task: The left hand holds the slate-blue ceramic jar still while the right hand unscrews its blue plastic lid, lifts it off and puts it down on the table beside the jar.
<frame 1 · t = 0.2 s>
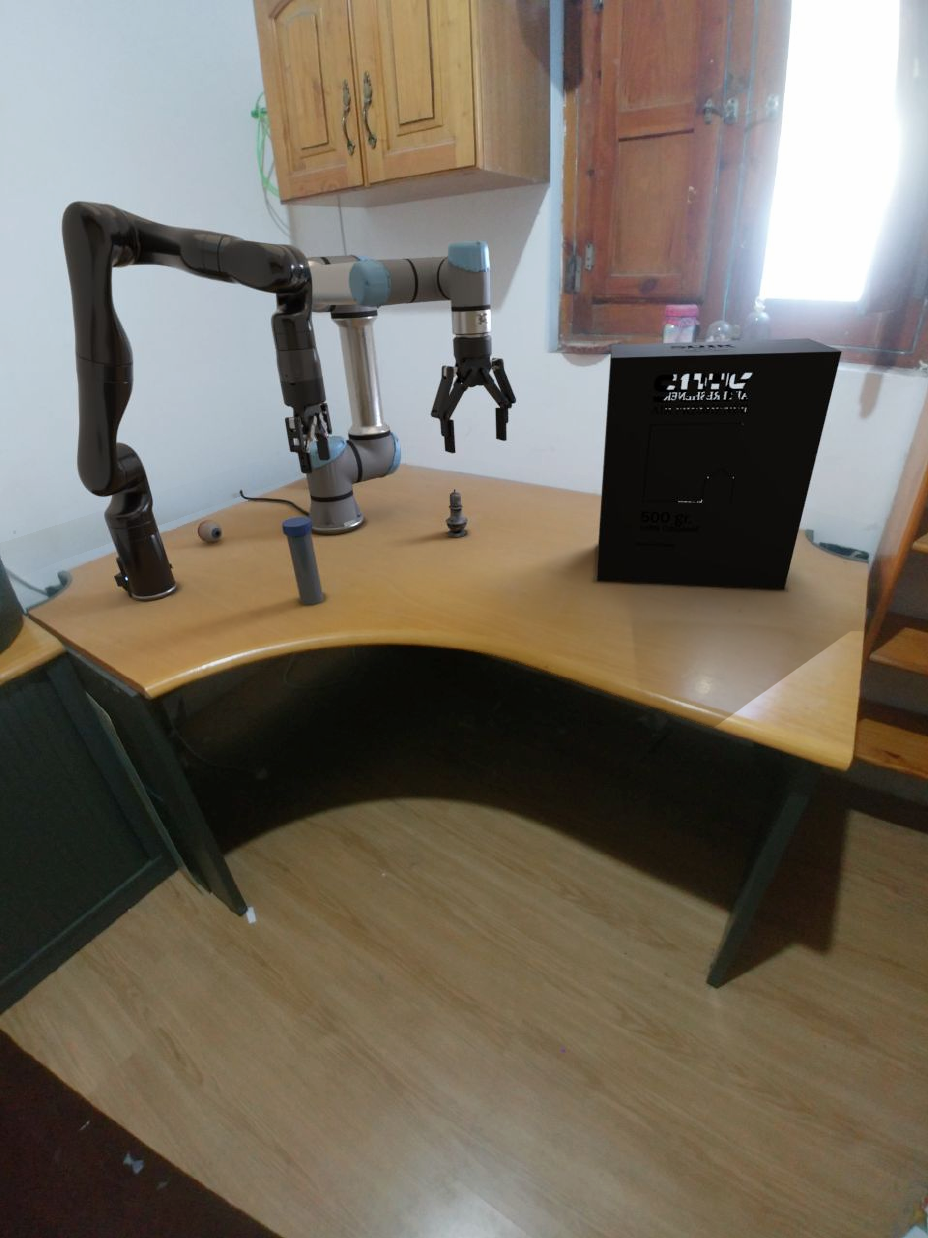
left hand: (316, 466, 115), 29 cm above the table, tool pointing down, fingers open, 8 cm apart
right hand: (476, 445, 127), 28 cm above the table, tool pointing down, fingers open, 13 cm apart
cardboard box: (682, 565, 136), on the table
eyeball: (213, 542, 163), on the table
salt shaker: (457, 533, 159), on the table
lid: (296, 523, 122), point 18 cm above the table, screwed on, not yet turned
jar: (312, 599, 131), on the table
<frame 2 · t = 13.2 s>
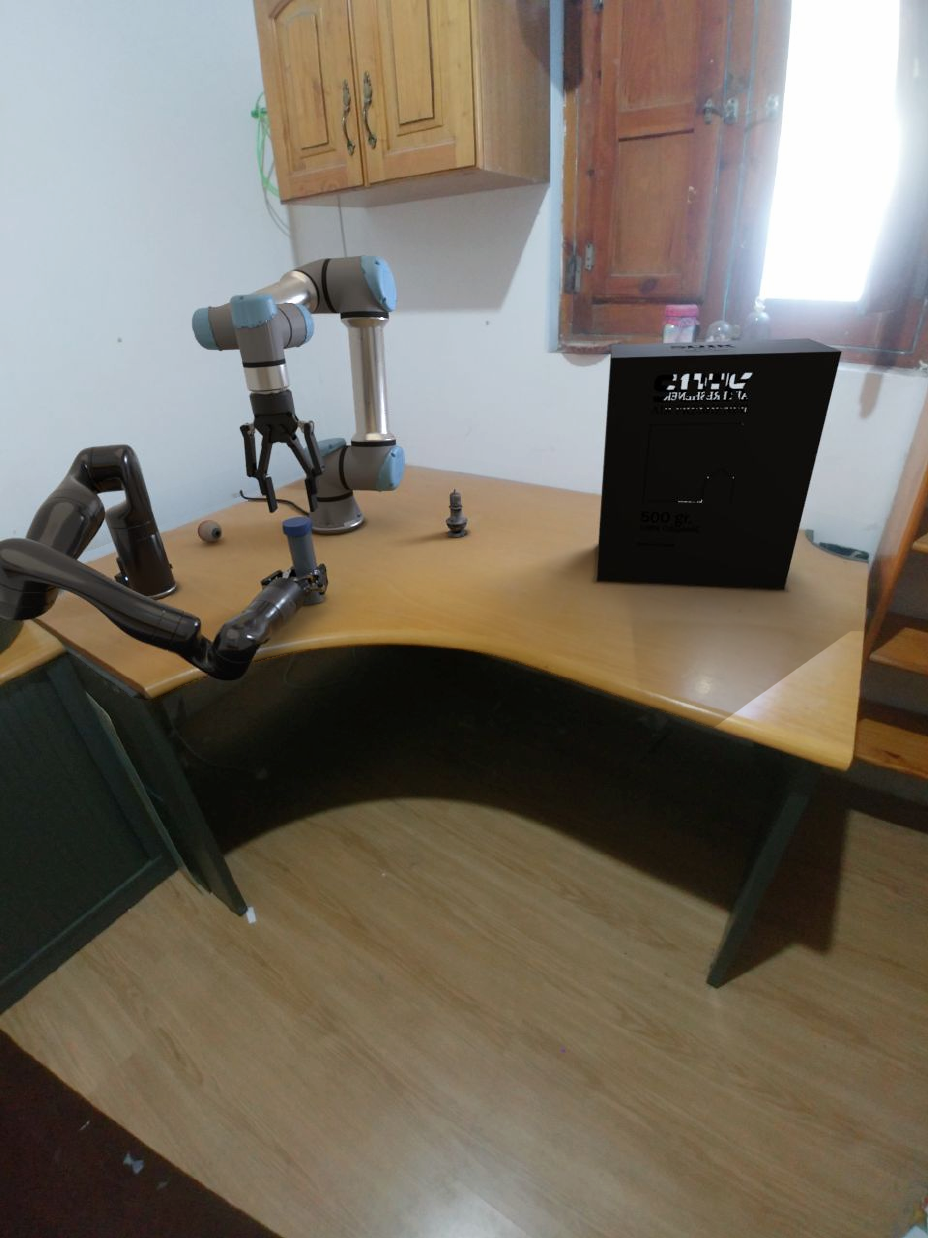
left hand: (311, 567, 130), 7 cm above the table, tool horizontal, fingers closed on jar, 5 cm apart
right hand: (293, 509, 121), 20 cm above the table, tool pointing down, fingers open, 8 cm apart
jar: (312, 599, 131), on the table, touching left hand
everything else where it was.
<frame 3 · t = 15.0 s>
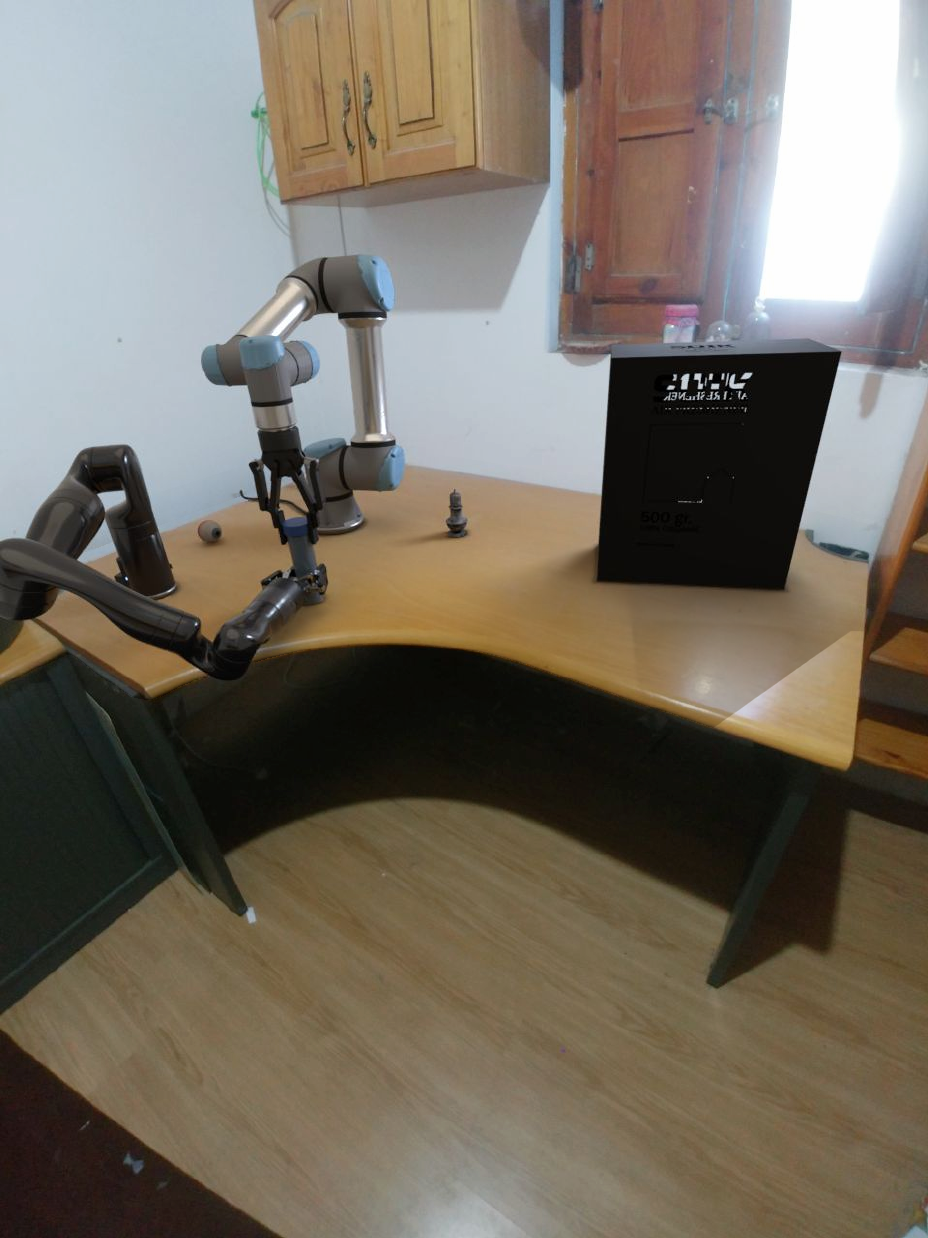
left hand: (311, 567, 130), 7 cm above the table, tool horizontal, fingers closed on jar, 5 cm apart
right hand: (300, 541, 124), 13 cm above the table, tool pointing down, fingers closed on lid, 6 cm apart
lid: (296, 523, 122), point 18 cm above the table, screwed on, not yet turned, touching right hand
jar: (312, 599, 131), on the table, touching left hand
everything else where it was.
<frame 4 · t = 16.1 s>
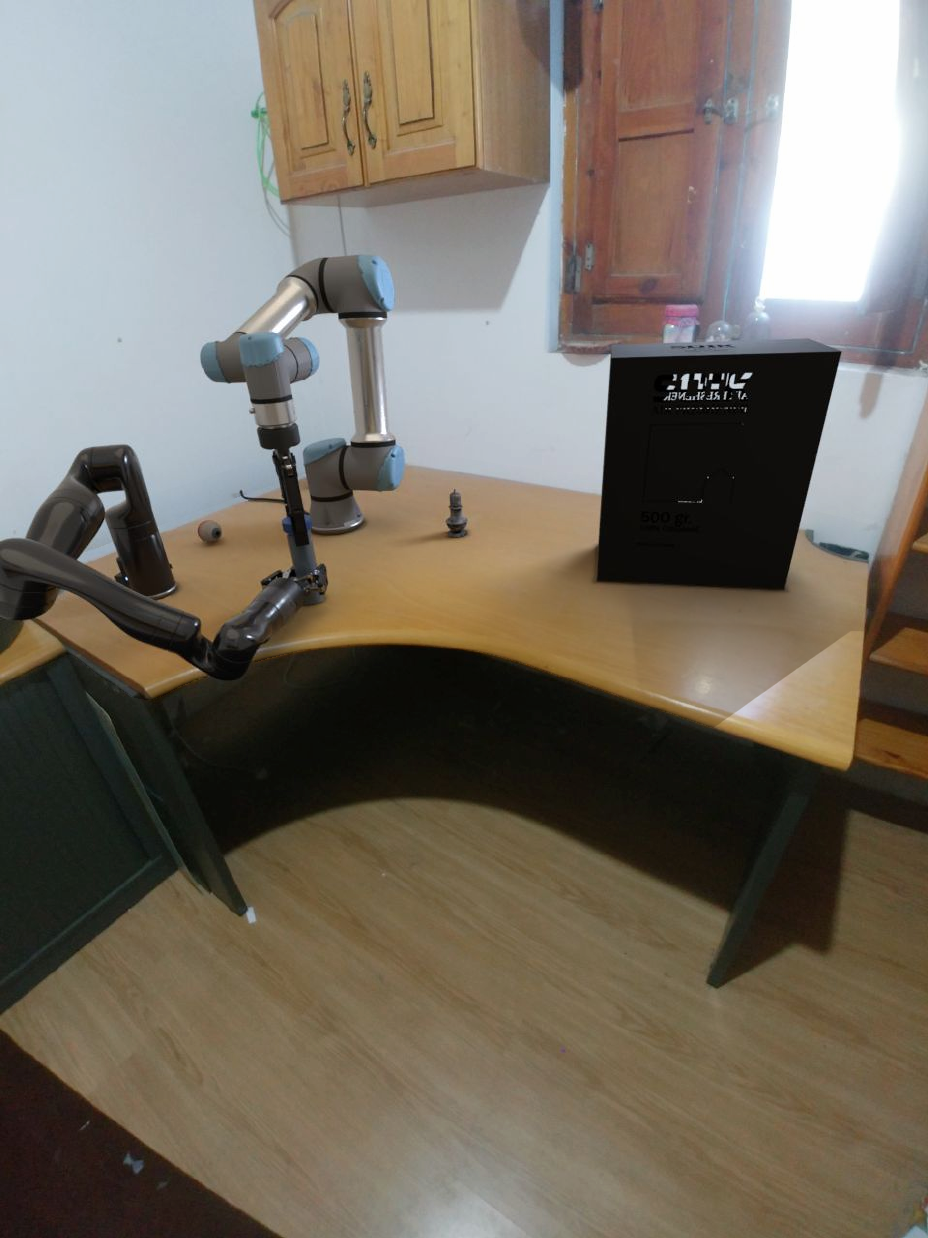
left hand: (311, 567, 130), 7 cm above the table, tool horizontal, fingers closed on jar, 5 cm apart
right hand: (300, 539, 124), 14 cm above the table, tool pointing down, fingers closed on lid, 6 cm apart
lid: (296, 520, 122), point 18 cm above the table, off its thread, touching right hand
jar: (311, 599, 131), on the table, touching left hand
everything else where it was.
when the right hand's fingers open (0 cm above the table, at t = 23.5 s): lid drops 2 cm, point 2 cm above the table.
when the left hand's fingers open (7 cm above the table, at t = 24.2 s): jar stays where it is, on the table.
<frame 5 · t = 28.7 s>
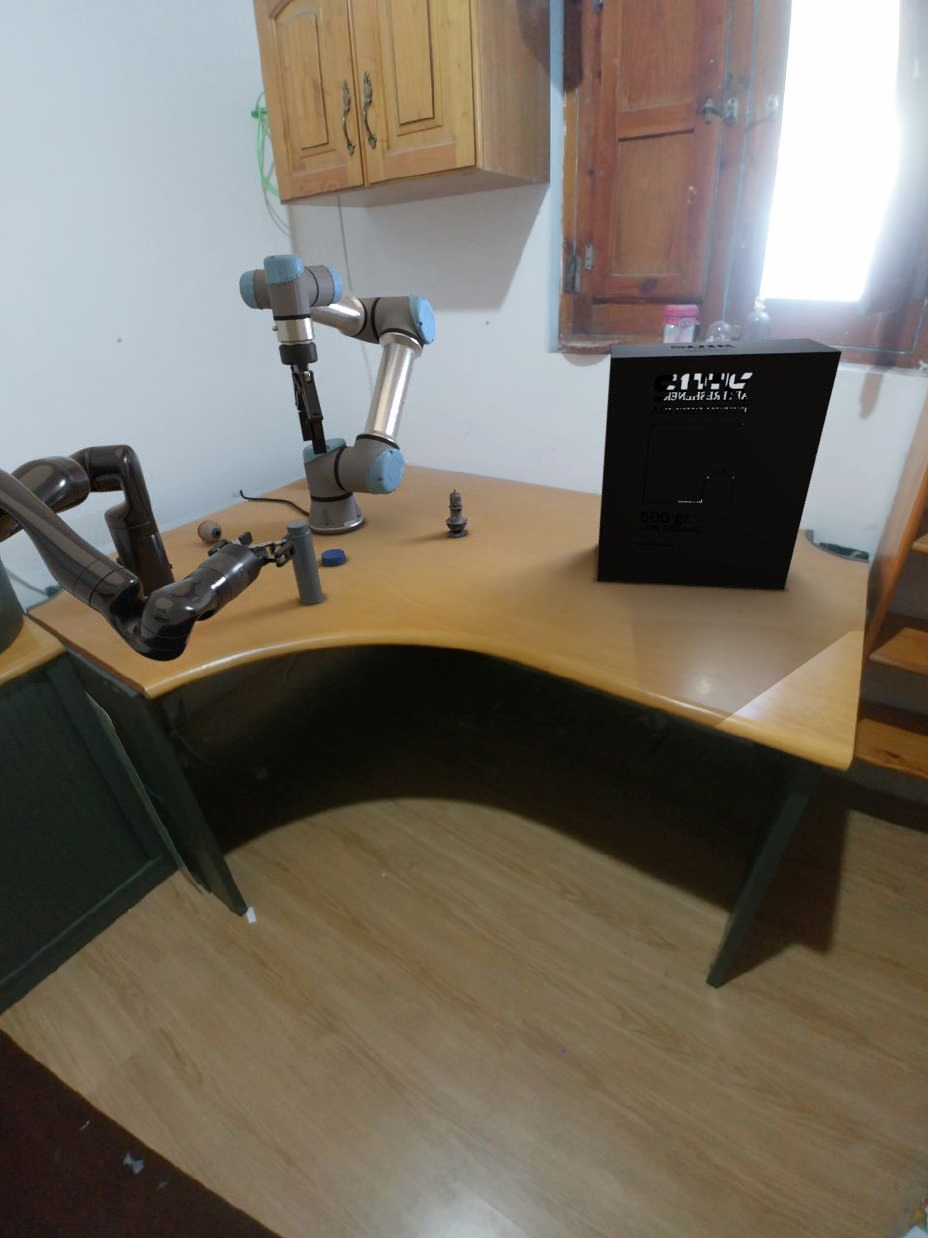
left hand: (271, 536, 113), 19 cm above the table, tool horizontal, fingers open, 8 cm apart
right hand: (314, 446, 134), 28 cm above the table, tool pointing down, fingers open, 13 cm apart
lid: (332, 554, 147), point 2 cm above the table, off its thread
jar: (311, 599, 131), on the table
everything else where it was.
at the end: lid came off its thread; lid point 1.7 cm above the table; the left hand is holding nothing; the right hand is holding nothing; jar tilted 0°; jar moved 0.0 cm from its start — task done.
